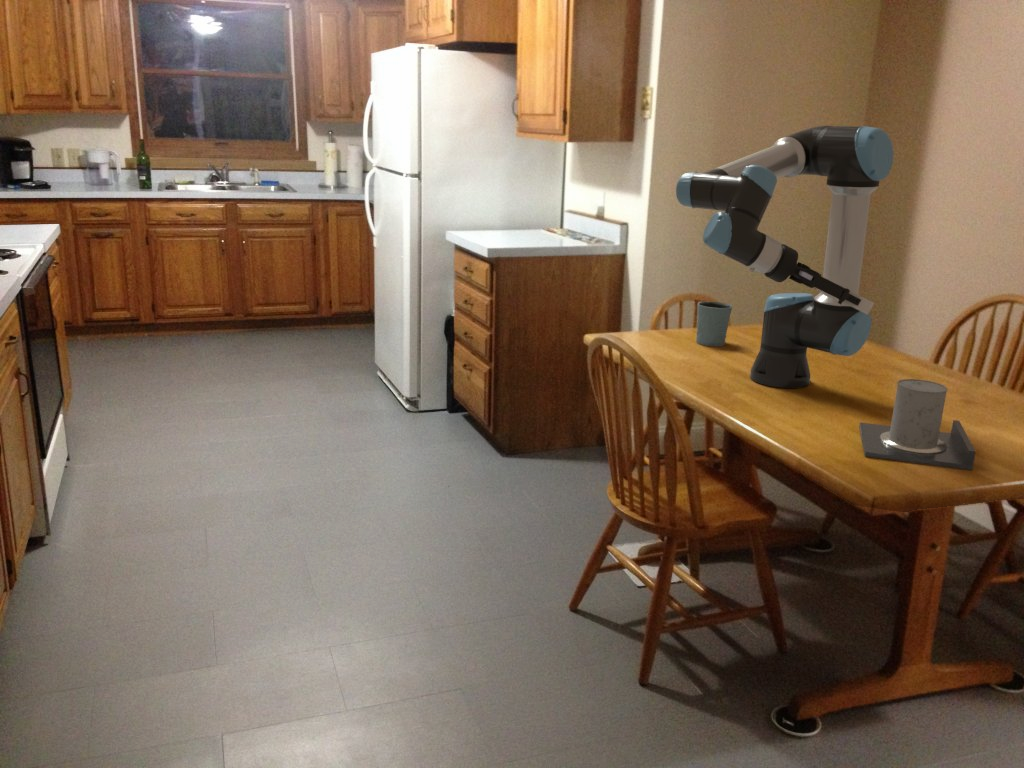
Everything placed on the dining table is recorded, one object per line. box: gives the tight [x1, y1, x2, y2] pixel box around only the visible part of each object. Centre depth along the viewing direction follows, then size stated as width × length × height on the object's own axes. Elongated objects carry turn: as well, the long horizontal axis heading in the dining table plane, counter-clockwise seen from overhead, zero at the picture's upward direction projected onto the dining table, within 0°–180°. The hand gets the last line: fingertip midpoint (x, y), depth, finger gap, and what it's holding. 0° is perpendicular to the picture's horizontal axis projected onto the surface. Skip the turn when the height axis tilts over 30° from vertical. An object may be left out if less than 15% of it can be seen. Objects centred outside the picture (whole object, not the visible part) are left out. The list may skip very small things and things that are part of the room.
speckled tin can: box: [889, 378, 948, 449], centre depth 186 cm, size 10×10×12 cm
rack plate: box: [858, 419, 976, 471], centre depth 188 cm, size 20×20×4 cm
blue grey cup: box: [695, 300, 733, 347], centre depth 271 cm, size 10×10×12 cm
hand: (856, 302), depth 190 cm, fingers open, 13 cm apart
